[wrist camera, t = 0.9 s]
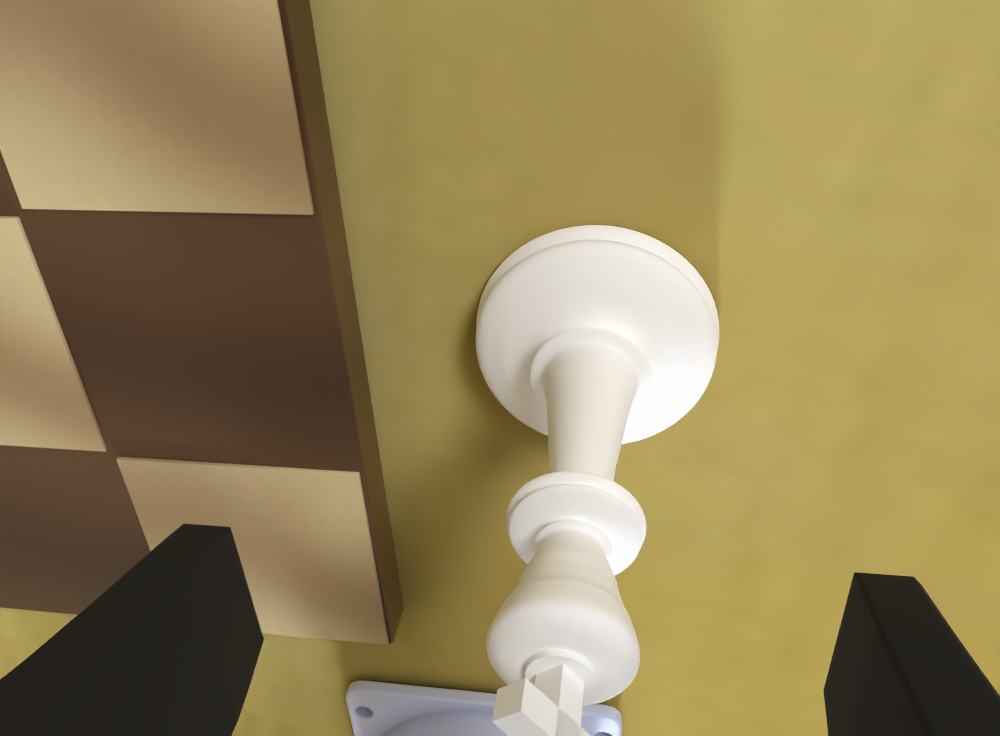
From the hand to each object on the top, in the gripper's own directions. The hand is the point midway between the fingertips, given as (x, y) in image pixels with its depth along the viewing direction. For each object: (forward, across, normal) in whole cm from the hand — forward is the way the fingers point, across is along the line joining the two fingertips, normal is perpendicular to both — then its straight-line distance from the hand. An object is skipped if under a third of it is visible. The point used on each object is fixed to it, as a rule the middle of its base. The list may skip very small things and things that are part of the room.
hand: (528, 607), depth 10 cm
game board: (+8, +14, +1) cm, 16 cm away
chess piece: (+9, 0, +1) cm, 9 cm away
